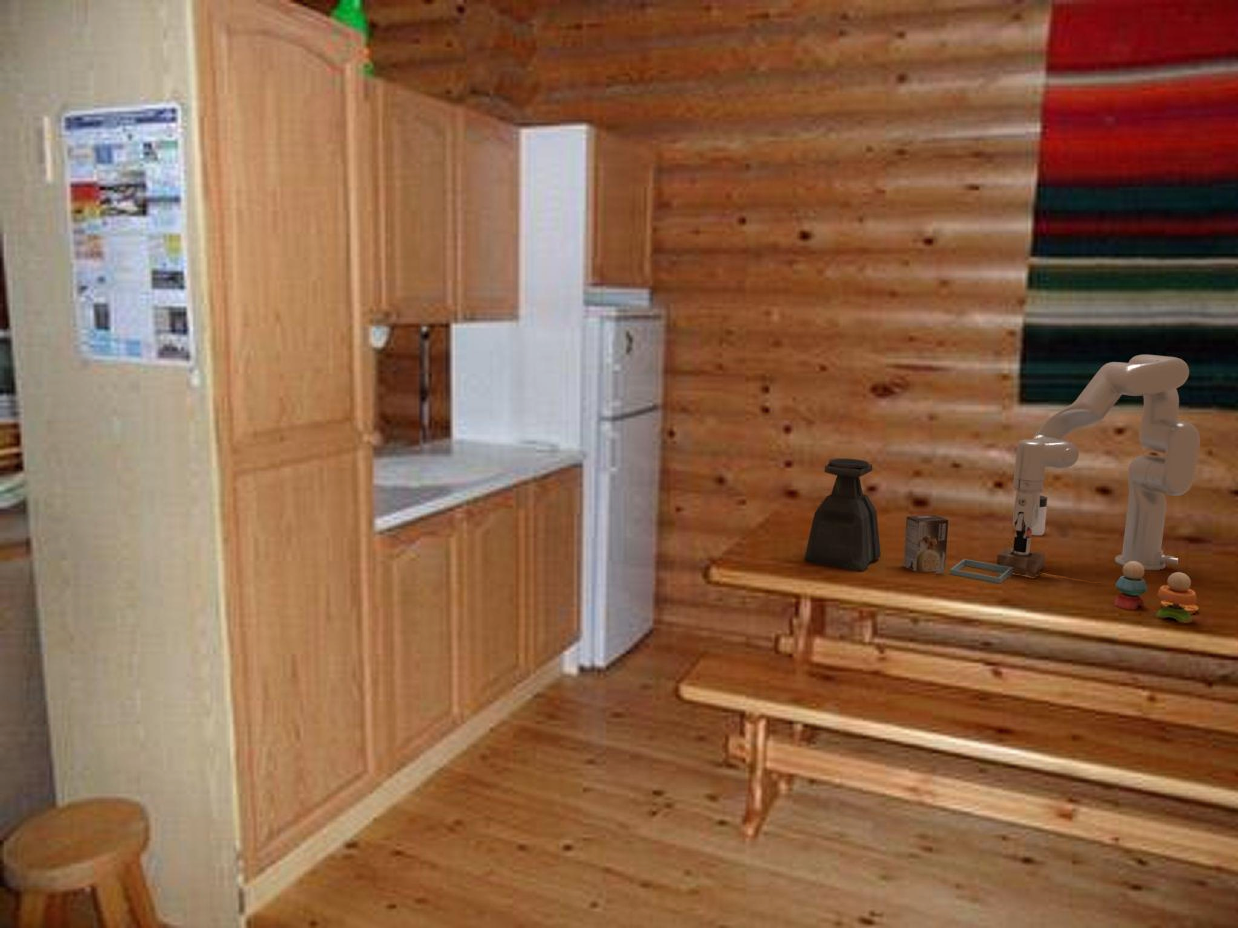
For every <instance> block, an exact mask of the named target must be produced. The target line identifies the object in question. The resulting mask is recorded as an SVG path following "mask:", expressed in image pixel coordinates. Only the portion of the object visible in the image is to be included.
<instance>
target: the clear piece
mask: <svg viewBox="0 0 1238 928" xmlns="http://www.w3.org/2000/svg"><path fill="white" fill-rule="evenodd" d="M1022 530H1023V531H1024V529H1022ZM1032 536H1033V535H1032V530H1031V529H1029V528H1027V535H1026V538H1027V547H1026V552H1025V553H1022V552H1016V551H1014V553H1013V555H1017V556H1023V557H1029V552H1030V551H1031V542H1032Z"/></svg>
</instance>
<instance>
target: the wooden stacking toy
mask: <svg viewBox="0 0 1238 928" xmlns="http://www.w3.org/2000/svg"><path fill="white" fill-rule="evenodd" d="M1122 566H1123V567H1122V573H1123V575H1120V577H1119V579H1118V580H1117V582H1116V584H1115V587H1116V588H1117V590H1118V591H1119V592H1121V593H1120V594H1118V596H1117V597H1116V599H1115V600H1114V604H1113V606H1115V607H1117V606H1118V607H1117V608H1120V607H1122V608H1121V609H1124V608H1125V610H1129V609H1136V610H1138V607H1140V606H1144V607H1145V601H1144V600H1143V598H1141V595H1143V594H1145V593H1146V592H1147V591H1148V586H1147V584H1146V580H1144V578H1143V577H1144V575H1145V571H1146V570H1145V569H1144V567H1143V566H1142V564H1140V563H1139V562H1136V561H1130V562H1127V563H1126V564H1125V565H1122ZM1166 582H1167V585H1161V586H1160V587H1159V589H1158V591H1157V594H1156V596H1157V597H1158V598H1159V599H1160V600H1161V601H1160V605H1161V606H1163V607H1164V608H1162V607H1161V609H1159V610H1158V611H1157V612H1156V613H1157V614H1156V613H1155V616H1156V615H1157V616H1162V617H1164V619H1165V618H1170V619H1172V618H1174V619H1173V620H1175V619H1176V620H1175V621H1177V620H1178V621H1183V622H1184V621H1191V620H1192V619H1193V617H1192V614H1189V613H1188V612H1195V611H1197V612H1198V611H1199V606H1197V605H1195V604H1197V602H1198V601H1197V600H1198V599H1197V594H1196V592H1195V591H1194V590H1192V589H1191V588H1190V587H1191V585H1192V580H1191V578H1190V577H1189V575H1187V574H1186V573H1183V572H1180V571H1177V572H1173V573H1171V574H1170V575H1169V576H1168V578H1167V581H1166ZM1181 606H1182V607H1181ZM1183 607H1185V608H1183Z"/></svg>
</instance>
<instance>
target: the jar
mask: <svg viewBox="0 0 1238 928" xmlns="http://www.w3.org/2000/svg"><path fill="white" fill-rule="evenodd" d="M1047 504H1048V497H1047V496H1044V495H1041V494H1040V505H1039V521H1038V523H1037V524H1036V525H1035V526H1034V527H1032V535H1031V536H1043V535H1044V533H1045V530H1046V529H1045V528H1046V520H1047V510H1048V505H1047ZM1023 527H1024V525H1023Z"/></svg>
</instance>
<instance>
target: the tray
mask: <svg viewBox="0 0 1238 928" xmlns="http://www.w3.org/2000/svg"><path fill="white" fill-rule="evenodd" d="M963 567H971V568H976V569H980V570H981V569H982V570H986V571H987V570H988V571H992V572H994V573H996V572H997V573H996V574H999V575H1000V576H999V577H997V576H993V575H987V574H981V573H976V572H970V571H964V570H961V569H962V568H963ZM1012 570H1013V567H1007V566H1002V565H997V563H996V564H995V563H991V562H990V563H989V562H985V561H979V560H973V559H966V558H963V559H962V560H960V561H959V562H958V563H956V564H955V565H953V566H952V567H951V568H950V569H949V575H952V576H957V577H963V578H967V579H968V578H969V579H973V580H979V581H985V582H990V583H993V584H994V583H995V584H1001V583H1003V582H1004V581H1005V580H1006V579H1010V578H1009V577H1010V576H1011V575H1012ZM1012 576H1013V575H1012Z"/></svg>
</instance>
